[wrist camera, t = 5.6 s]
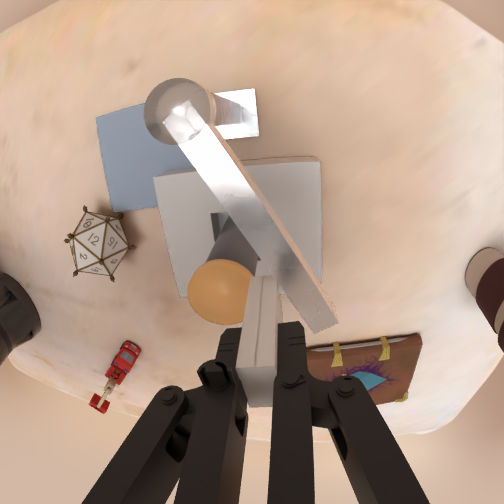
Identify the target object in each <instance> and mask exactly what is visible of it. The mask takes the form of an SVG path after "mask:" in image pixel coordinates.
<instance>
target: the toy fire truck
mask: <svg viewBox="0 0 504 504" xmlns="http://www.w3.org/2000/svg"><path fill="white" fill-rule="evenodd" d="M140 352H141V351H140V350H139V349H138V348H137V347H136V346H135V345H133V344H132V343H130V342H127V341H126V342H125V343H123V344H122V346H121V348H120V352H119V354H118V355H116V357H115V359H114V360H113V362H112V364H111V366H110V368H109V369H108V371H107V373H106V374H105V376H106V377H108V378H109V380H108V382H107V384H106V386H105V388H104V391H105V392H104V394H103V396H102V397H100V396H99V395H97V394H96V393H95V394H94V395H93V397H92V399H91V401H90V403H89V405H90V406H91V407H93V408H95V409H96V410H98V411H99V412H101V413H103V414H104V413H106V411H107V409H108V407H109V404H110V402H108V401H107V400H105V398H106V397H107V395H108V394H109V395H110V394H111V392H112V391H113V389H114V387H115V384H116V383H117V384H118V385H120V384H121V382H122V381H123V379H124V378H125V376H126V374H127V373H129V372H130V370H131V368H132V367H133V365H134V363H135V361H136V359H137V358H138V356H139V354H140ZM113 377H114V378H113Z"/></svg>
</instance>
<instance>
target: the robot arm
mask: <svg viewBox="0 0 504 504" xmlns="http://www.w3.org/2000/svg"><path fill="white" fill-rule="evenodd" d="M39 330H40V319H39V316H38V313H37V310H36V308H35V306H34V304H33V303H32V301H31V299H30V298H29V296H28V295H27V293H26V292H25V291H24V289H23V288H22V287H21V286H20V285H19V284H18V283H17V282H16V281H15V280H14V279H13V278H11V277H10V276H8V275H6V274H0V365H1V364H2V363H3V361H4V360H5V359H6V357H7V356H8V355H9V354H10V352H11V351H12V350H13V349H14V348H16V347H18V346H19V345H21V344H23V343H25V342H27V341H29V340H31V339H32V338H34V337H35V335H36V334H37V333H38V332H39ZM217 351H218V352H217V354H216V358H215V359H214V360H209V361H207V362H205V363H203V364H202V365H201V366H200V367H199V369H198V370H197V373H198V375H199V377H200V380H201V382H202V384H203V385H202V386H200V387H198V388H195V389H191V390H187V391H183V390H182V389H181V388H180V387H178V386H167V387H164V388H162V389H160V390H159V391H158V392H157V394H156V395H155V396H154V398H153V399H152V401H151V402H150V404H149V405H148V407H147V408H146V410H145V411H144V413H143V414H142V416H141V417H140V418H139V420H138V421H137V423H136V424H135V426H134V427H133V429H132V430H131V432H130V433H129V435H128V436H127V438H126V439H125V441H124V442H123V443H122V445H121V446H120V448H119V449H118V451H117V452H116V454H115V455H114V457H113V458H112V460H111V461H110V463H109V464H108V465H107V467H106V468H105V470H104V471H103V473H102V474H101V476H100V477H99V479H98V480H97V482H96V483H95V485H94V486H93V488H92V489H91V490H90V492H89V493H88V495H87V496H86V498H85V499H84V501H83V502H82V504H165V503H166V501H167V499H168V498H169V496H170V494H171V492H172V490H173V489H174V487H175V485H176V483H177V481H178V480H179V483H178V488H177V492H176V496H175V500H174V504H238V503H239V495H240V487H241V478H242V470H243V462H244V453H245V445H246V436H247V427H248V413H247V411H246V409H247V402H248V405H249V408H250V407H273V410H272V431H271V450H270V468H269V484H268V499H267V504H315V491H314V459H313V436H312V426H316V427H322V428H328V430H329V432H330V435H331V437H332V440H333V442H334V444H335V447H336V449H337V452H338V454H339V456H340V459H341V461H342V464H343V466H344V468H345V471H346V473H347V476H348V478H349V481H350V483H351V485H352V488H353V490H354V493H355V495H356V497H357V500H358V502H359V504H430V503H429V501H428V499H427V497H426V495H425V493H424V491H423V490H422V488H421V486H420V484H419V482H418V480H417V479H416V477H415V475H414V473H413V471H412V469H411V468H410V465H409V464H408V462H407V460H406V458H405V456H404V454H403V453H402V451H401V449H400V447H399V445H398V444H397V442H396V440H395V438H394V436H393V435H392V433H391V431H390V429H389V428H388V426H387V424H386V422H385V421H384V419H383V417H382V415H381V414H380V412H379V410H378V408H377V407H376V405H375V403H374V401H373V400H372V398H371V396H370V395H369V393H368V391H367V389H366V388H365V386H364V384H363V383H362V381H361V380H360V379H359V378H357V377H355V376H351V375H344V376H339V377H337V378H335V379H333V381H332V382H330V381H323V380H319V379H317V378H315V377H313V376H312V375H311V374H310V372H309V371H308V365H307V353H306V343H305V332H304V327H303V326H302V325H301V323H300V322H299V321H296V322H287V323H283V312H282V306H281V300H280V294H279V287H278V282H277V281H276V280H275V278H274V277H273V276H272V275H264V276H256V277H250V283H249V289H248V295H247V301H246V307H245V313H244V319H243V325H242V328H229V329H226V330H225V331H224V333H223V334H222V335H221V338H220V342H219V346H218V350H217ZM179 478H180V479H179Z"/></svg>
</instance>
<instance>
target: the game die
mask: <svg viewBox="0 0 504 504" xmlns="http://www.w3.org/2000/svg"><path fill="white" fill-rule="evenodd" d="M83 211H85V214H84V215H83V217H82V219H81V220H80V222H79V224H78V225H77V227H76V229H75V231H74V232H73V234H71V233H70V234H68V235H67V236H68V238H70V240H69V239H65V240H64V241H65V242H66V243H70V247H71V251H72V255H73V259H74V262H75V266H76V269H77V270H76V271H75V272H73V277H74V276H77V274H78V272H86V273H93V274H100V275H107V276H110V279H111V281H113V282H114V279H115V278H114V276H113V275H112V274H113V273H114V271H115V270H116V268H117V266H118V265H119V263H120V262H121V260H122V258H123V257H124V255H125V254H126V252H127V251H128V249H129V248H130V249H135V248H136V247H135V246H134V245H129V243H128V241H127V238H126V236H125V233H124V231H123V228H122V225H121V223H120V219H121V218H123V214H120V215H119V216H118V218H116V217H111V216H106V215H102V214H97V213H92V212H88V211H87V207H86V206H85V205H84V207H83Z"/></svg>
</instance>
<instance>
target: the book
mask: <svg viewBox="0 0 504 504" xmlns="http://www.w3.org/2000/svg"><path fill="white" fill-rule="evenodd" d="M421 348H422V339H421V336H420V335H419V334H417V335H411V336H406V337H400V338H394V339H387V340H386V337H385V336H382V337H380V339H379V341H374V342H366V343H359V344H350V345H342V346H339V343H338V342H333V345H332V347H322V348H310V349H306V353H307V365H308V371H309V372H310V374H311V375H312V376H313V377H315V378H317V379H319V380H323V381H330V382H332V381H333V379H335V378H337V377H339V376H344V375H351V376H355V377H357V378H359V379H360V380H361V381H362V383H363V384H364V386H365V388H366V389H367V391H368V393H369V395H370V396H371V398H372V400H373V401H374V403H375V405H379V404H384V403H390V402H403V401H405V400H407V398H408V388H409V386H410V383H411V380H412V377H413V374H414V371H415V368H416V365H417V361H418V358H419V355H420V351H421Z"/></svg>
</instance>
